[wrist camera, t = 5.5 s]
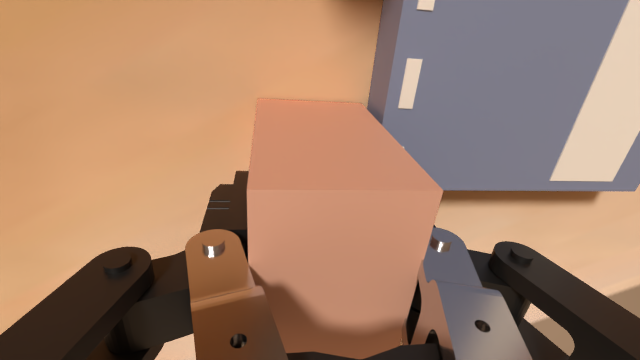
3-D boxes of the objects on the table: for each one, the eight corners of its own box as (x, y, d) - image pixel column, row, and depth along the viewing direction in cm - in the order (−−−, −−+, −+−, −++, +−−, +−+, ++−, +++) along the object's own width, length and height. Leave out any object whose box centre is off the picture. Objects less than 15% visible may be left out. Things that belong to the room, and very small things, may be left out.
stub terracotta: (361, 103, 13) (443, 190, 7) (343, 229, 16) (391, 371, 10) (257, 98, 12) (246, 189, 6) (257, 230, 15) (250, 383, 9)
